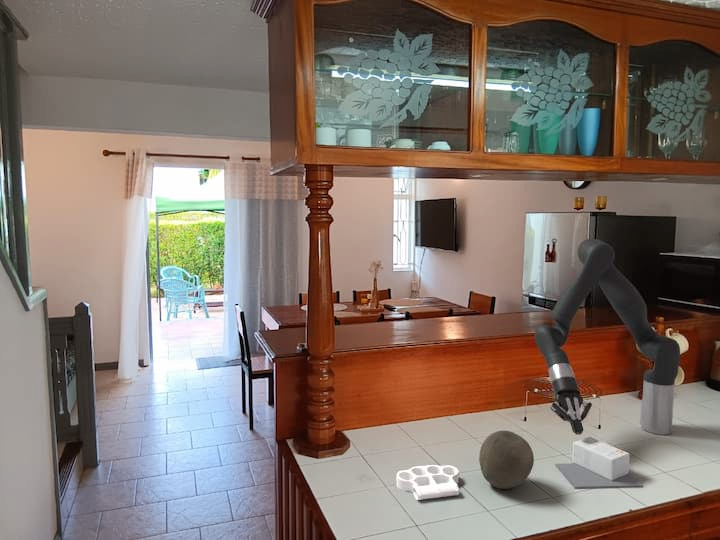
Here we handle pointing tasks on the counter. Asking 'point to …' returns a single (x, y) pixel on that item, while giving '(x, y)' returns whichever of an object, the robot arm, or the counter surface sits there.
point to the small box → (601, 458)
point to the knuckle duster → (429, 481)
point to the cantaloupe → (505, 459)
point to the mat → (594, 478)
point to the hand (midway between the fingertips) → (579, 433)
